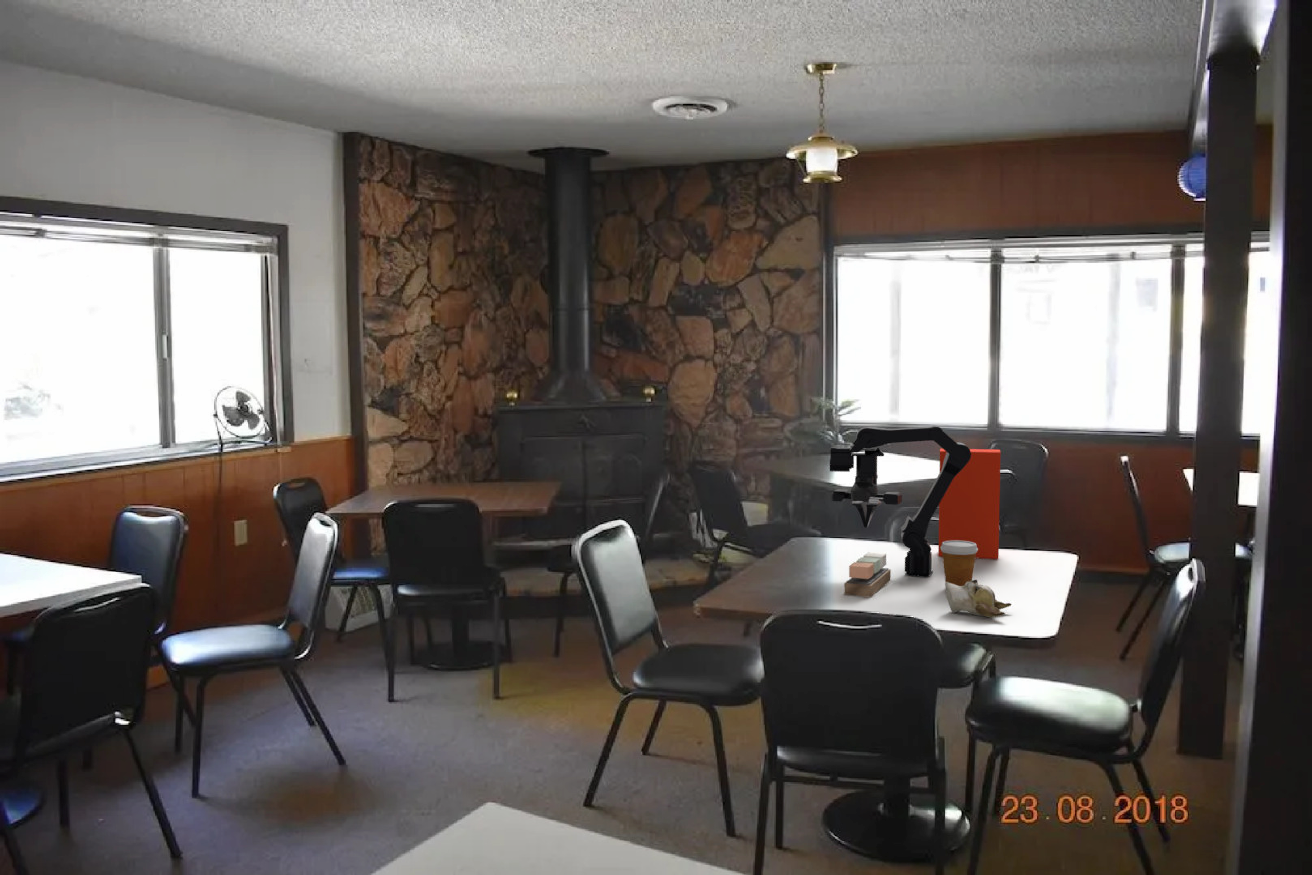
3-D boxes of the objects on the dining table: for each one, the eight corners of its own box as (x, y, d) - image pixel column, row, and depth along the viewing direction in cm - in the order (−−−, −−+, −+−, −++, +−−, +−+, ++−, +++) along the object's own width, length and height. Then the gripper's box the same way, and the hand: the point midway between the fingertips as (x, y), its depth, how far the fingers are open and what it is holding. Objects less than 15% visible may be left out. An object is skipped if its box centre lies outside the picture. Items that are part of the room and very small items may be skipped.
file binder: (998, 559, 319) (1000, 452, 316) (938, 556, 324) (939, 451, 321) (997, 554, 327) (999, 449, 324) (938, 551, 332) (940, 448, 329)
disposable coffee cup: (957, 594, 276) (958, 548, 275) (932, 587, 285) (932, 542, 284) (985, 590, 281) (986, 544, 280) (959, 582, 289) (960, 538, 288)
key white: (886, 564, 292) (886, 553, 292) (881, 568, 288) (881, 557, 287) (867, 563, 294) (868, 552, 294) (863, 566, 290) (863, 555, 290)
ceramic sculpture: (950, 570, 264) (1013, 580, 257) (947, 605, 265) (1011, 615, 258) (940, 580, 254) (1006, 590, 248) (938, 615, 255) (1003, 626, 249)
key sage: (879, 569, 286) (880, 558, 286) (875, 573, 281) (875, 562, 281) (861, 568, 288) (861, 557, 288) (856, 571, 283) (856, 560, 283)
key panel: (890, 580, 293) (890, 568, 293) (871, 597, 274) (871, 584, 274) (865, 578, 296) (865, 565, 296) (844, 594, 277) (844, 581, 277)
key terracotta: (873, 575, 280) (873, 563, 279) (868, 578, 275) (868, 567, 275) (854, 573, 282) (854, 562, 281) (849, 577, 277) (849, 565, 277)
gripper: (825, 473, 297) (825, 529, 298) (893, 476, 289) (892, 534, 290) (837, 469, 307) (836, 523, 308) (902, 472, 299) (902, 527, 300)
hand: (866, 527), depth 301 cm, fingers closed
